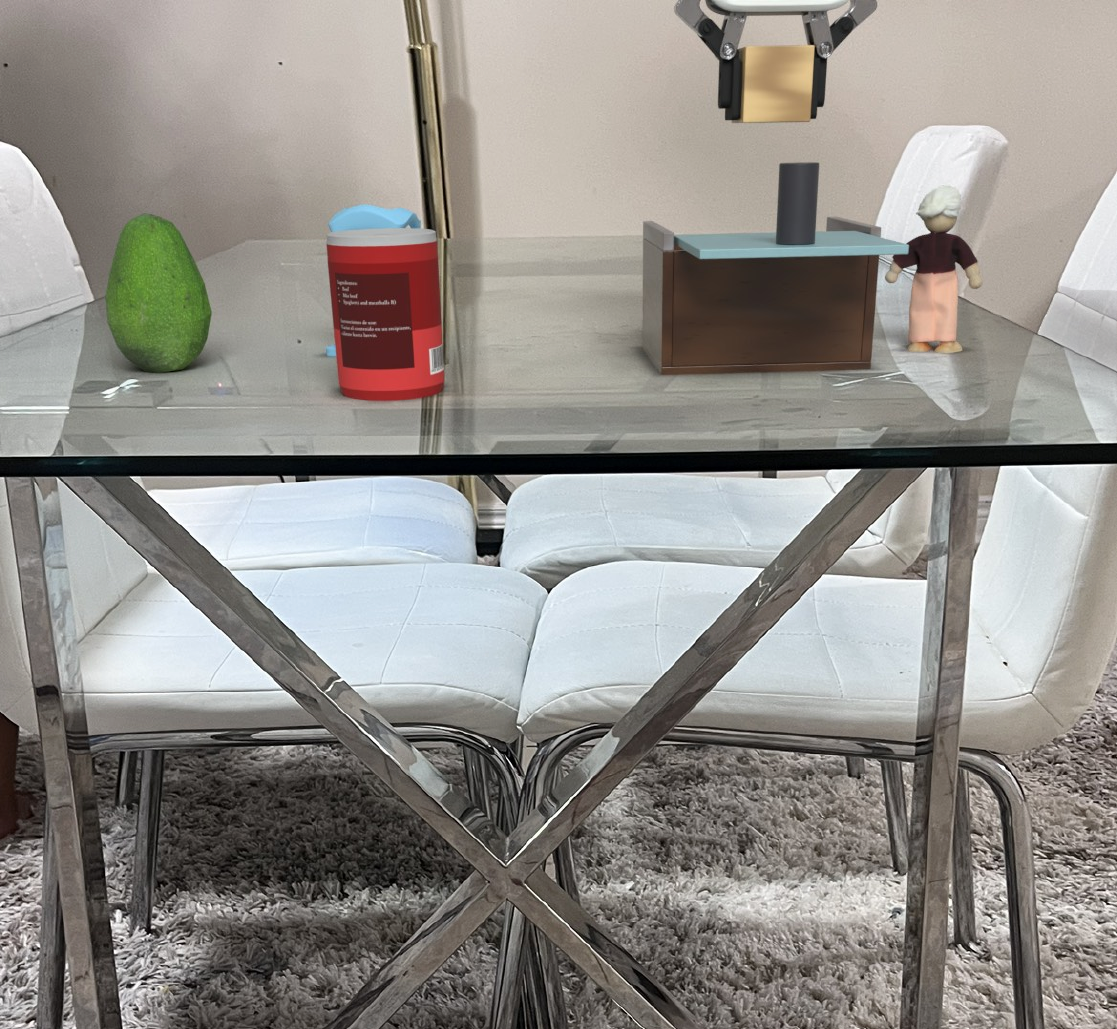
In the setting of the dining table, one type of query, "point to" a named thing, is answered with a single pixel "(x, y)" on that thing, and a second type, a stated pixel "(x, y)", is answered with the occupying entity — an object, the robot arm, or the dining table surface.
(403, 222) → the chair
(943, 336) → the grandmother figurine
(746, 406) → the dining table surface
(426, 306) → the canned food
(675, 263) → the box
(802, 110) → the block
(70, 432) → the dining table surface
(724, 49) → the robot arm
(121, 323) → the avocado
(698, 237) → the lid
